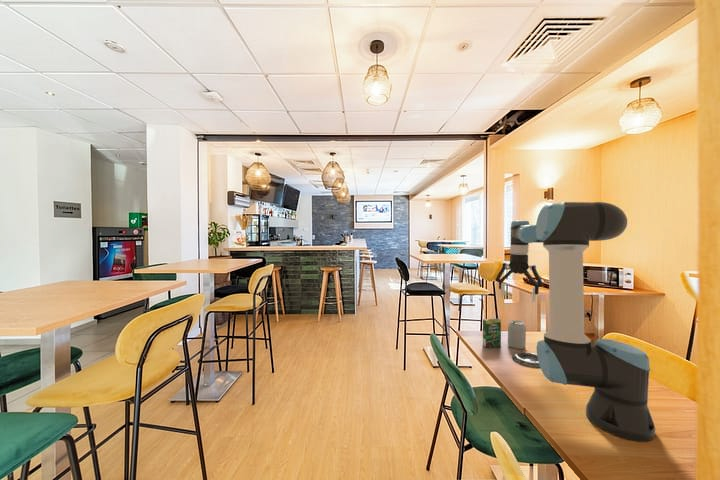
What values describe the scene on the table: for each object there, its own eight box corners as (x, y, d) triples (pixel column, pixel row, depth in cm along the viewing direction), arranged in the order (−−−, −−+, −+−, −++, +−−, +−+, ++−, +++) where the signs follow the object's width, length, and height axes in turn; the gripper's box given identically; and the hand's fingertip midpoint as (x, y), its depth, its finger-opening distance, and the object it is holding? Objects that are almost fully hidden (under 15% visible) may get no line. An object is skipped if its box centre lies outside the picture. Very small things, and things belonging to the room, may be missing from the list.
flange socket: (552, 369, 120) (552, 365, 120) (516, 365, 123) (516, 362, 123) (540, 355, 133) (540, 352, 133) (508, 352, 136) (508, 349, 135)
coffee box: (485, 348, 141) (485, 320, 140) (481, 345, 144) (482, 318, 143) (501, 347, 142) (501, 320, 141) (497, 345, 145) (498, 318, 144)
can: (511, 342, 148) (512, 318, 147) (528, 347, 142) (528, 322, 142) (504, 346, 143) (505, 321, 143) (521, 351, 137) (522, 325, 137)
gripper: (551, 255, 135) (550, 301, 136) (494, 251, 152) (493, 293, 153) (548, 256, 129) (546, 305, 130) (488, 252, 146) (487, 295, 147)
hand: (517, 298), depth 141 cm, fingers open, 13 cm apart
